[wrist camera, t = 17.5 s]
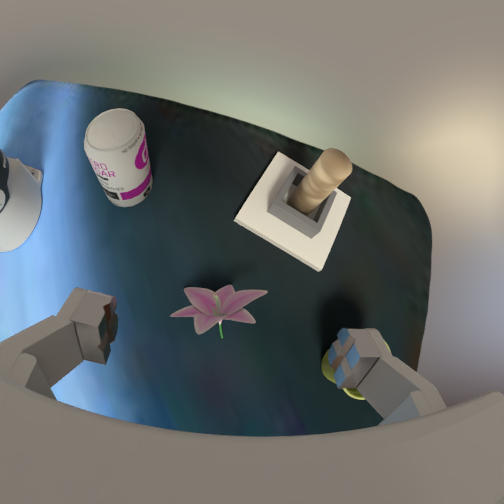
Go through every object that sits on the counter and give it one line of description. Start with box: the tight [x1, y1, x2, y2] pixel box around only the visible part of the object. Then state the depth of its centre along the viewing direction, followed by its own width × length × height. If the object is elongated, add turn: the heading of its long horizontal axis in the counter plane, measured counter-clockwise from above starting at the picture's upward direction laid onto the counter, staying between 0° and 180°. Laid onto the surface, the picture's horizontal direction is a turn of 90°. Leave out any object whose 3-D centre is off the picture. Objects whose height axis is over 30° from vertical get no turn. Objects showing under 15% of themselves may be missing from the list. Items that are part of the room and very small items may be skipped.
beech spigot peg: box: [287, 148, 352, 216], centre depth 40 cm, size 4×4×14 cm
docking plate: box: [234, 152, 351, 272], centre depth 46 cm, size 16×16×5 cm
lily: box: [170, 285, 268, 338], centre depth 37 cm, size 12×12×10 cm
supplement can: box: [84, 108, 153, 207], centre depth 35 cm, size 8×8×15 cm
